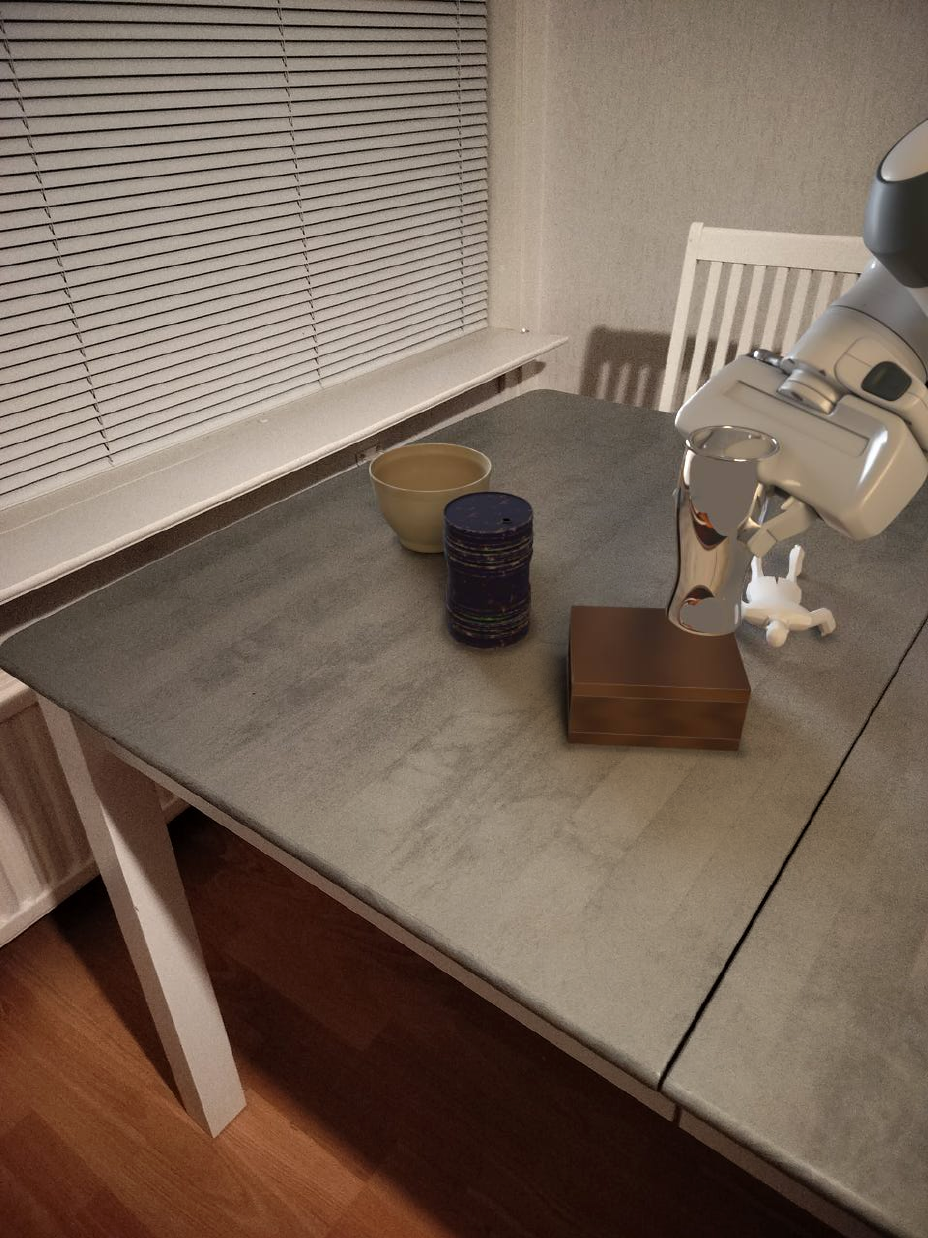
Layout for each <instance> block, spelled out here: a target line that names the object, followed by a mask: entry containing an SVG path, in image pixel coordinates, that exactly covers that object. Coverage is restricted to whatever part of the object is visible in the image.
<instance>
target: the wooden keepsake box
mask: <svg viewBox="0 0 928 1238" xmlns="http://www.w3.org/2000/svg"><path fill="white" fill-rule="evenodd" d="M568 621H569V623H568V637H567V652H566V688H567V689H566V690H567V691H566V692H567V693H566V694H567V696H566V697H567V732H568V733H567V736H568V744H575V745H595V746H597V745H598V746H619V747H620V746H621V747H641V748H642V747H643V748H659V749H660V748H661V749H662V748H664V749H683V750H703V751H726V752H728V751H729V752H738V751H739V747H740V743H741V739H742V733H743V730H744V725H745V721H746V717H747V713H748V709H749V704H750V700H751V694H752V687H751V684H750V680H749V677H748V674H747V671H746V667H745V665H744V662H743V658H742V654H741V651H740V649H739V645H738V643H737V640H736V635H735V633H734V631H733V632H731V633H728V634H725V635H720V636H702V635H696V634H692V633H689V632H686V631H684V630H682V629H680V628H678V627H677V626H675V625H674V624H673V623H672V622H671V621H670V620H669V619H668V617H667V615H666V607H664V608H663V607H661V608H660V607H635V606H634V607H632V606H630V607H629V606H606V605H605V606H603V605H602V606H601V605H600V606H599V605H573V604H572V605H570V607H569V620H568Z"/></svg>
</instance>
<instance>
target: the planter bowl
mask: <svg viewBox="0 0 928 1238" xmlns="http://www.w3.org/2000/svg"><path fill="white" fill-rule="evenodd" d="M492 469H493V464H492V462H491V460H490V459H489V457H488V456H486V454H485V453H482V452H481V451H479V450H476V449H474V448H471V447H468V446H464V445H460V444H454V443H445V442H427V443H414V444H406V445H401V446H398V447H395V448H392V449H389V450H386V451H384V452H382V453H380V454H379V455H377V456H376V457H374V458H373V459H372V461H371V462H370V464H369V467H368V472H369V477H370V481H371V483H372V490H373V495H374V498H375V501H376V502H375V503H376V505H377V507H378V509H379V512H380V513H381V515H382V517H383V518H384V520H385V522H386V523H387V524H388V526H389V527H390V528H391V530H392V531H393V532H395V533H396V534H397V538H398V541H399V542H400V544H401V545H402V546H403V547H405V548H407V549H409V550H411V551H413V552H414V551H415V552H418V553H425V554H437V553H444V547H445V546H444V540H443V531H444V516H443V511H444V508H445V506H446V505H447V503H449V502H450V501H451V500H453V499H454V498H457V497H459V496H462V495H465V494H469V493H474V492H483V491H490V481H491V480H490V479H491V476H492Z"/></svg>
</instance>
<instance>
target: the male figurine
mask: <svg viewBox="0 0 928 1238" xmlns="http://www.w3.org/2000/svg"><path fill="white" fill-rule="evenodd" d="M805 555H806V553H805V551H804V549H803V547H802V546H801V545H800V544H795V545H794V548H792V549H791V551H790V553H789V557H788V559H789V562H788V564H789V565H788V573H787V575H786V577H785V578H784V577H782V576H781V577H780V576H778V578H777V579H776V576H770V575H764V573H763V572H764V571H763V569H762V557H761V558H757V557H756V556H754V558H753V560H752V562H751V565H750V567H751V570H752V573H751V581H750V582H749V583H748V585H747V587H746V590H745V594H746V599H747V601H748V602H745V601H743V600H742V619H744V620H745V621H746V622H747V623H749V624H750V625H753V626H756V627H758V628H760V629H762V630H765V631H766V634H765V635H766V641H767V643H768V645H769V646H770V647H771V648H780V647H781V646H783V645H784V644H785V642H786V640H787V638H788V634H789V633H790V632H803V631H806V630H808V629H810V628H812V627H816V626H817V627H818V631H820V636H821V637H825V636H826V635H828V634H832V633H833V631H834V630H835V629H836V627H837V625H836V620H835V618H834V616H833V614H832V611H831V610H829V609H828V608H825V607H824V606H823V607H821V608H818V609H815V610H812V611H809V610H808V609H807V608H806V607H803V606H802V605H801V601H802V594H803V593H802V592H803V591H802V589H801V588H800V586H799V585H798V583H797V577H798V576H799V575H800V574H801V573H802V570H803V562H804V561H803V560H804V558H805ZM776 580H777V581H776Z"/></svg>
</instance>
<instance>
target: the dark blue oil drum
mask: <svg viewBox="0 0 928 1238" xmlns="http://www.w3.org/2000/svg"><path fill="white" fill-rule="evenodd" d="M443 516H444V531H443V540H444V546H445V547H444V552H443V554H444V559H445V561H446V564H447V582H446V585H445V596H446V597H445V611H446V617H447V631H448V633H449V635H450V637H451V638H452V639H453V640H454V641H456V642H457V643H459V644H460V645H462V646H464V647H467V648H471V649H475V650H481V651H482V650H483V651H495V650H502V649H506V648H511V647H513V646H515V645H517V644H519V643H520V642H522V641H523V640H524V639H526V637H527V636H528V635H529V633H530V628H531V622H530V621H531V620H530V618H531V612H532V584H531V582H530V566H531V565H530V563H531V561H532V559H533V554H534V547H533V546H534V533H535V532H534V521H533V520H534V508H533V506H532V504H531V503H530V502H529V501H528V500H526V499H525V498H524V497H521V496H519V495H516V494H513V493H509V492H504V491H495V490H493V491H491V490H489V491H483V492H474V493H469V494H465V495H462V496H459V497H457V498H454V499H453V500H451V501H450V502H449V503H447V505H446V506H445V508H444V511H443Z"/></svg>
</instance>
